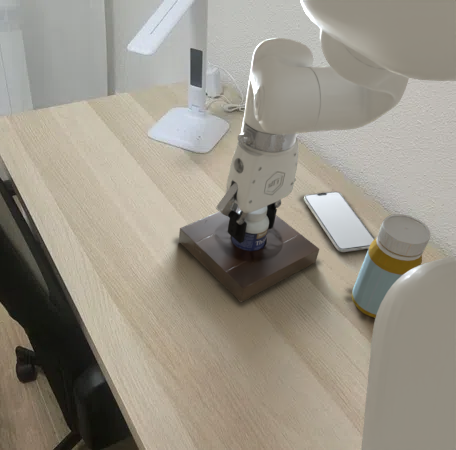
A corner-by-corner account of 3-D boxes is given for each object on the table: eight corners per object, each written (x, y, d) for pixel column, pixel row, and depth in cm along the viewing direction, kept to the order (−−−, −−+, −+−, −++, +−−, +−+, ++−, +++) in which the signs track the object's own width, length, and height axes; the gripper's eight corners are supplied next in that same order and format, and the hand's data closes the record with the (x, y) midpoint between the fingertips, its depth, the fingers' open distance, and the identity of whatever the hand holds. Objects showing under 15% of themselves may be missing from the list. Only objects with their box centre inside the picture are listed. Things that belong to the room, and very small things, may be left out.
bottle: (359, 279, 87) (388, 205, 77) (404, 299, 84) (440, 225, 74) (343, 306, 83) (372, 231, 73) (389, 328, 80) (425, 253, 70)
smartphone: (339, 250, 91) (302, 195, 102) (338, 253, 91) (301, 197, 102) (379, 244, 92) (339, 190, 103) (378, 247, 93) (338, 193, 104)
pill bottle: (256, 267, 88) (266, 221, 82) (225, 257, 90) (232, 210, 84) (266, 247, 92) (276, 201, 86) (236, 237, 94) (243, 191, 87)
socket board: (315, 262, 90) (319, 248, 88) (240, 302, 83) (243, 288, 81) (250, 209, 99) (252, 196, 98) (178, 241, 92) (179, 228, 90)
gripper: (239, 163, 70) (223, 265, 82) (332, 127, 78) (305, 225, 89) (203, 136, 75) (193, 236, 86) (293, 105, 82) (273, 200, 94)
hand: (250, 229), depth 88 cm, fingers closed on pill bottle, 5 cm apart
